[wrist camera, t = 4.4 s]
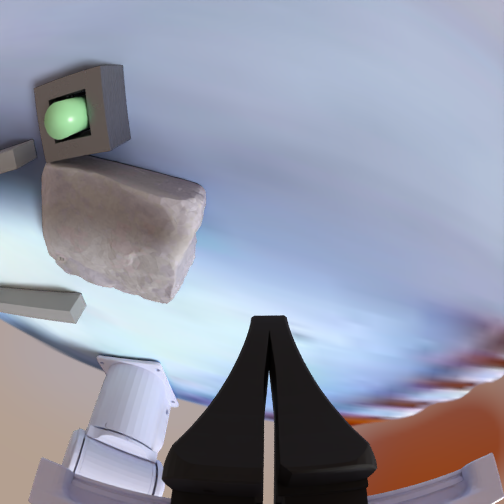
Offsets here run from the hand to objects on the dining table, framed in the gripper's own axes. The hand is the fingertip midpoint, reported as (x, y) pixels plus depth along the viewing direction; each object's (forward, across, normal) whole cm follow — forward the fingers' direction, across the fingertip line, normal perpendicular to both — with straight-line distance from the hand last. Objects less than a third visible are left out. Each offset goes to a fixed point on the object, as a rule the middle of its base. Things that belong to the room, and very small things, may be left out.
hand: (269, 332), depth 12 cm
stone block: (+10, +10, 0) cm, 15 cm away
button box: (+10, +11, -9) cm, 17 cm away
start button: (+11, +11, -9) cm, 18 cm away
